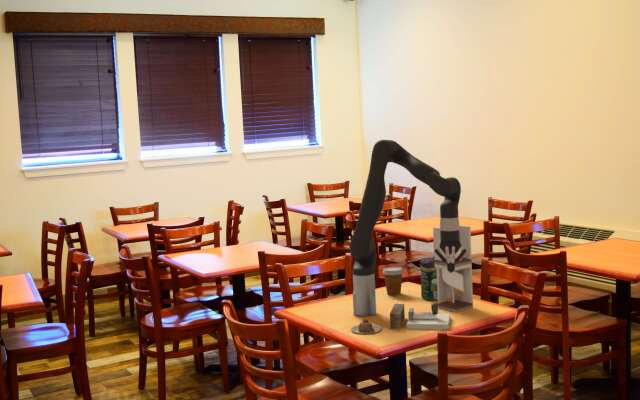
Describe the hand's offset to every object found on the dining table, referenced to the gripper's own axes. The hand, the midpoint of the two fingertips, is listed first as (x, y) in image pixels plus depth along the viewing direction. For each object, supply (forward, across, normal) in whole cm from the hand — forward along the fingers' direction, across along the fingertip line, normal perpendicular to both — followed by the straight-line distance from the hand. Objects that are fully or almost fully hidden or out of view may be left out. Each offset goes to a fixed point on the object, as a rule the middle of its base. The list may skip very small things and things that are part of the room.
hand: (451, 272), depth 306 cm
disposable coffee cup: (+21, -30, +50) cm, 62 cm away
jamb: (+21, -22, 0) cm, 30 cm away
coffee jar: (+21, -12, +41) cm, 48 cm away
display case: (+21, 0, +25) cm, 33 cm away
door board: (+21, -10, 0) cm, 23 cm away
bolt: (+18, -11, 0) cm, 22 cm away
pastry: (+22, -33, -10) cm, 41 cm away
